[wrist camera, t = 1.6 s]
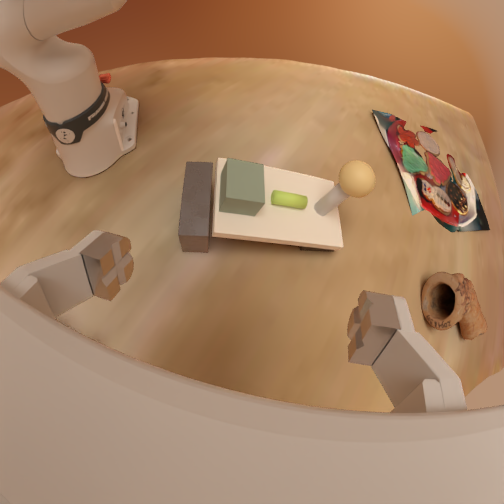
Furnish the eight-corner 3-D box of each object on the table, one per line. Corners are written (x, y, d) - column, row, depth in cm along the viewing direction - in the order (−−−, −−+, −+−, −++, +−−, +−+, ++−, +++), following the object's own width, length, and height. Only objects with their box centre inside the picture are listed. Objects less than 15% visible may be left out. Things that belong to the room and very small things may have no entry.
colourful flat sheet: (416, 235, 51) (422, 231, 50) (368, 114, 62) (371, 109, 60) (487, 231, 58) (492, 228, 56) (446, 134, 68) (449, 131, 66)
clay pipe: (428, 267, 53) (404, 294, 45) (463, 246, 45) (450, 271, 36) (459, 334, 49) (440, 372, 40) (495, 319, 40) (485, 359, 32)
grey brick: (188, 185, 46) (186, 161, 39) (325, 195, 50) (341, 175, 43) (182, 251, 42) (178, 235, 36) (333, 256, 46) (352, 243, 39)
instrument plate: (211, 236, 36) (241, 183, 24) (216, 163, 40) (242, 98, 28) (337, 250, 43) (397, 216, 30) (328, 185, 46) (376, 142, 34)
